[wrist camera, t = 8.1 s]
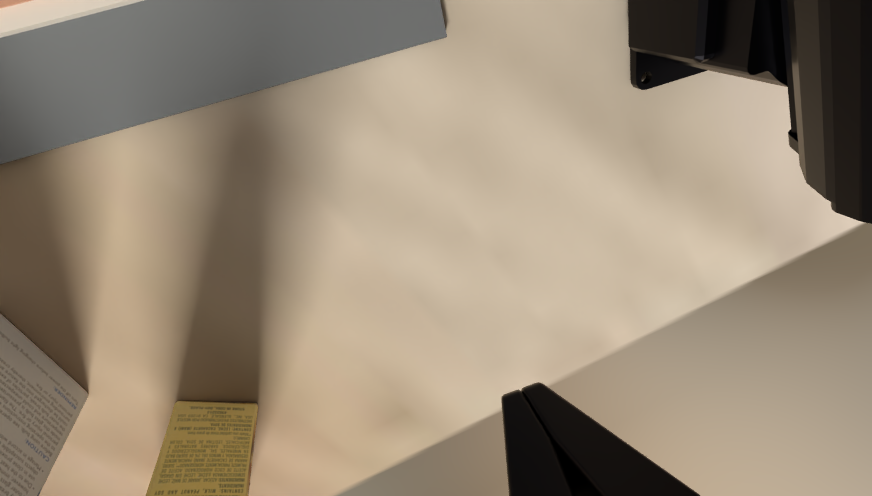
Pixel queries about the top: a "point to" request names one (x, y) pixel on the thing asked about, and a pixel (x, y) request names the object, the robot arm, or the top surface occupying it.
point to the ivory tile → (48, 12)
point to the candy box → (206, 450)
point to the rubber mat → (183, 60)
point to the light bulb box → (32, 412)
